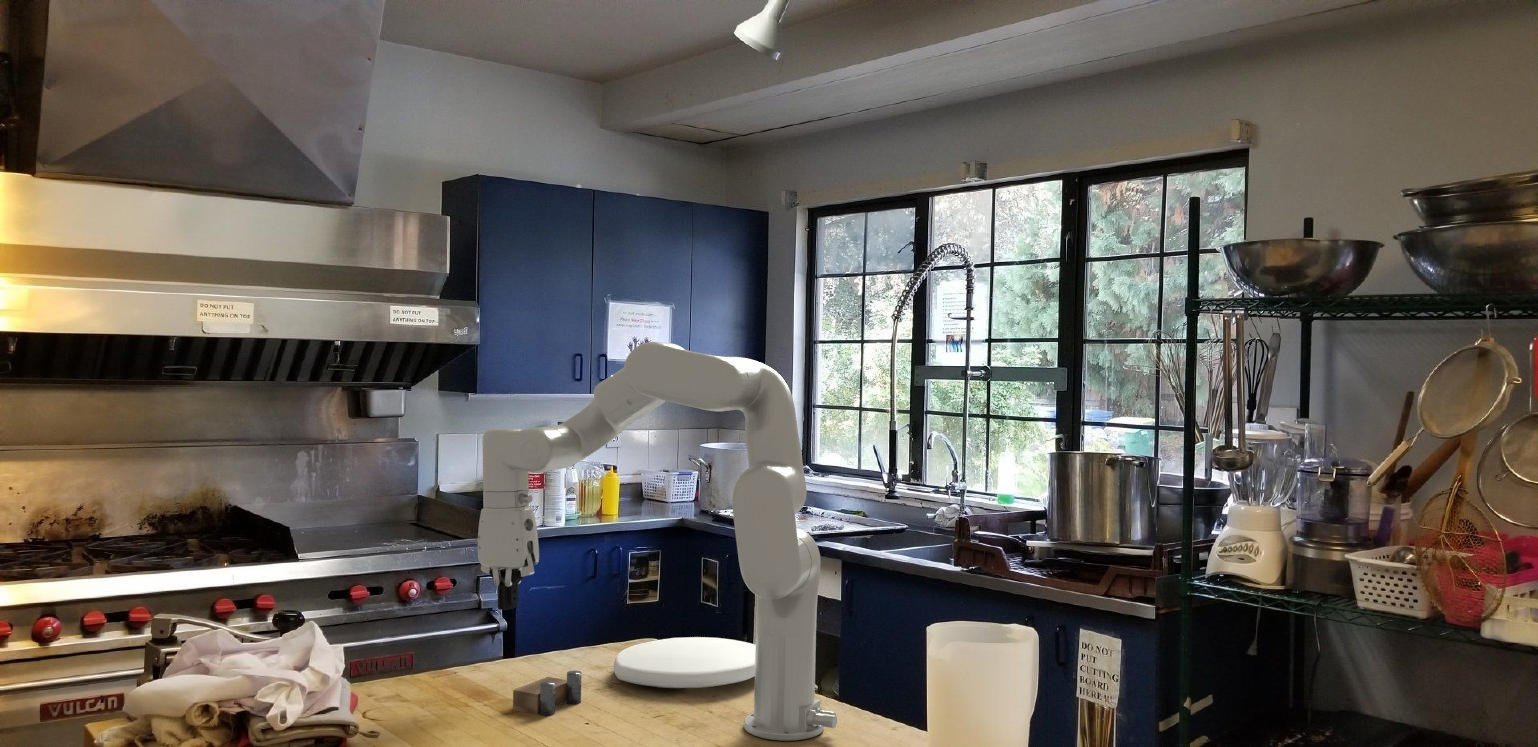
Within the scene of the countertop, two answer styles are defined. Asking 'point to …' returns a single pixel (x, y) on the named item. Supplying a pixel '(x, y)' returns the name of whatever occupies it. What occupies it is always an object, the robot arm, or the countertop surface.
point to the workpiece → (537, 695)
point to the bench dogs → (549, 693)
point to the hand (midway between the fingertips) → (507, 608)
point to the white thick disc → (686, 662)
